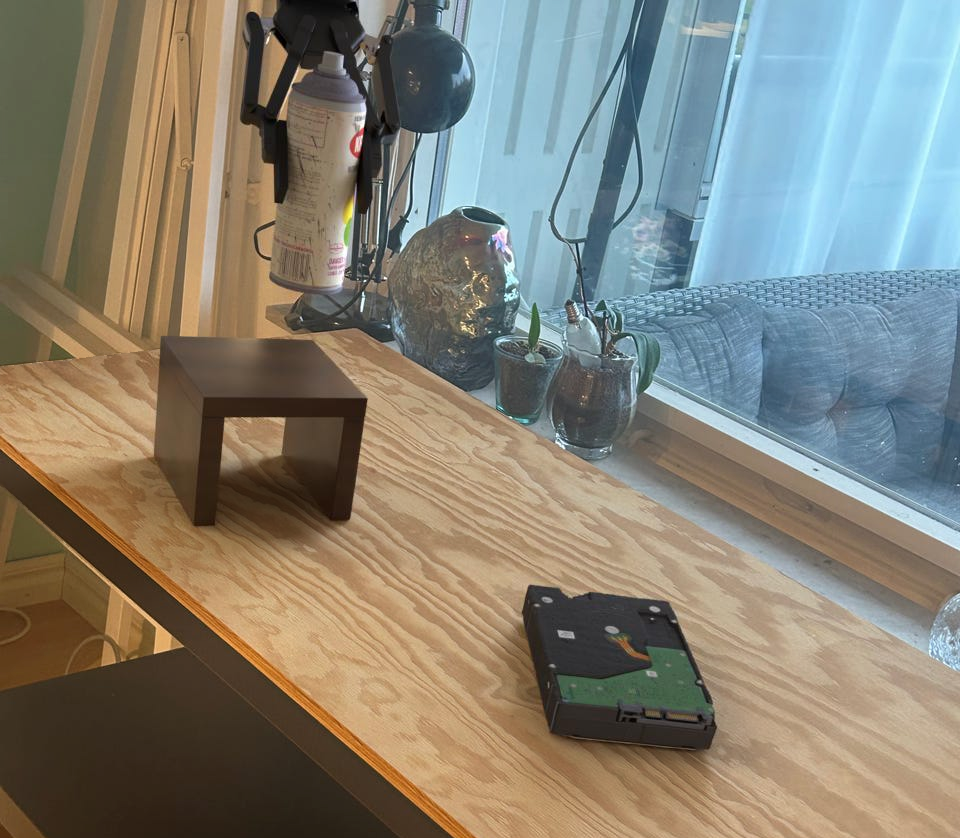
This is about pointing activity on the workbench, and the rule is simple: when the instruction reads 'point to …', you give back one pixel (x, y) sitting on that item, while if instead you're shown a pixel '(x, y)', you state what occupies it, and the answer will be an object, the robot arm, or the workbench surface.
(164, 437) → the shelf
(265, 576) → the workbench surface
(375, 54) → the robot arm
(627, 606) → the disk drive
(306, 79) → the aerosol can
